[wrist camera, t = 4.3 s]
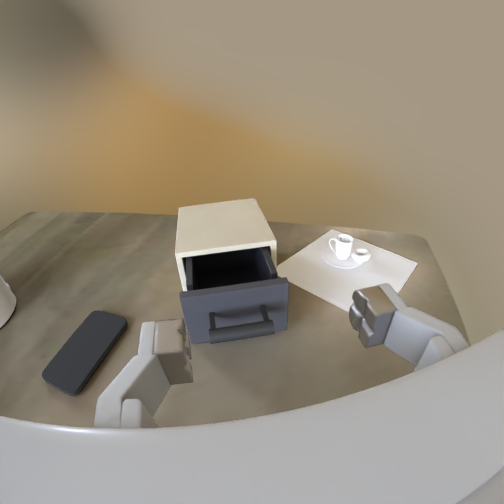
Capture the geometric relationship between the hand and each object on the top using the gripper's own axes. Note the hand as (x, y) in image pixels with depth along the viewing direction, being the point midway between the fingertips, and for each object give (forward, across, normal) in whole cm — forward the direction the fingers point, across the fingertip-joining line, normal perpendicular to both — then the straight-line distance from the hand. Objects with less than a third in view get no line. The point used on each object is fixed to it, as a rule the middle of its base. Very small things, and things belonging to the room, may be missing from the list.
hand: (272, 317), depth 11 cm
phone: (+19, +22, +22) cm, 37 cm away
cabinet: (+34, 0, +22) cm, 41 cm away
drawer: (+23, 0, +21) cm, 31 cm away
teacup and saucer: (+30, -21, +22) cm, 43 cm away
